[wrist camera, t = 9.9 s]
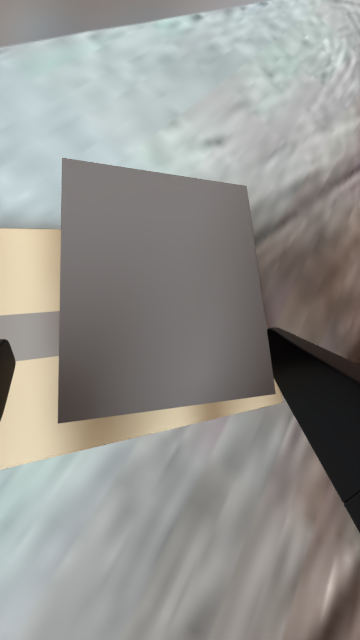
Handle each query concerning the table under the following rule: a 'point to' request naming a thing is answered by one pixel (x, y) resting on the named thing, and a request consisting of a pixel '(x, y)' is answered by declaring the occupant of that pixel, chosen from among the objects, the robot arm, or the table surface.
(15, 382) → the birch board
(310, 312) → the table surface
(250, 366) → the block
